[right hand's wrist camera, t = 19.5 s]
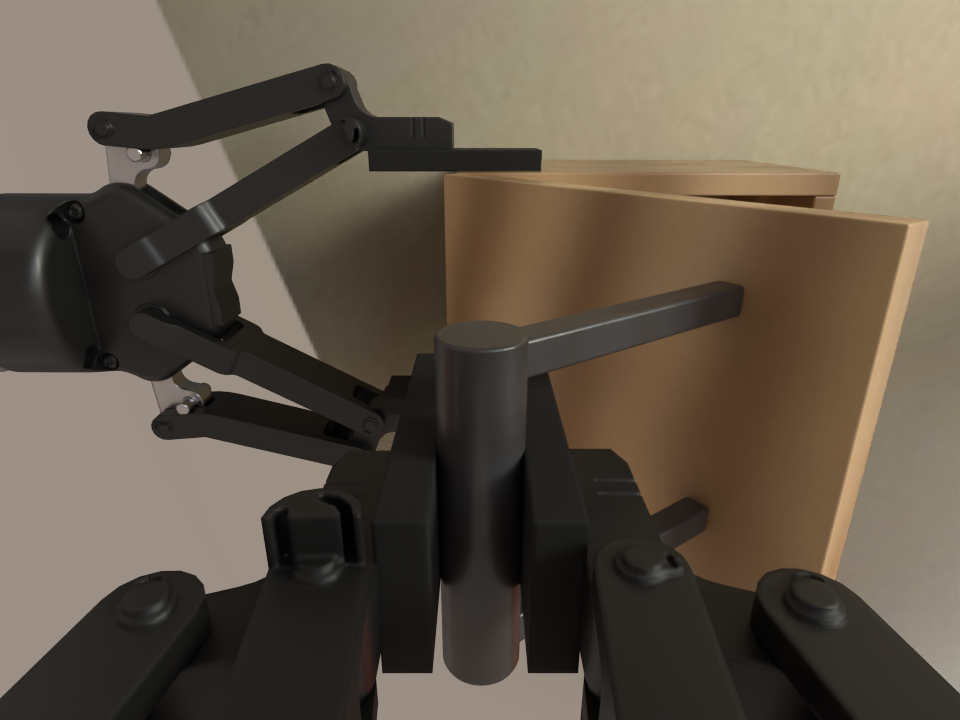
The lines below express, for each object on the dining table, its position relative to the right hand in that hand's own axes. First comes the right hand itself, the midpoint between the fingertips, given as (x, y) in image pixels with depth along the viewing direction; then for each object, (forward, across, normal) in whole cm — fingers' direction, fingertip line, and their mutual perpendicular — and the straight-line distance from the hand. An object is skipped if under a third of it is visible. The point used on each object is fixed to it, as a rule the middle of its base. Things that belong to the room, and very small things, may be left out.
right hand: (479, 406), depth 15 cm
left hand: (+12, +2, 0) cm, 12 cm away
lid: (+4, +4, 0) cm, 5 cm away
